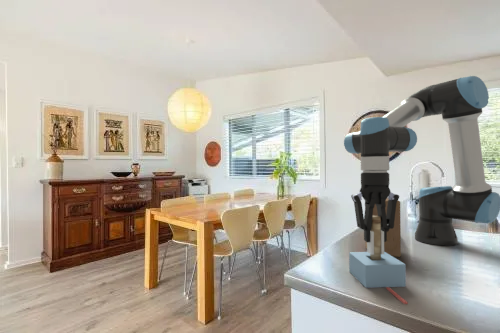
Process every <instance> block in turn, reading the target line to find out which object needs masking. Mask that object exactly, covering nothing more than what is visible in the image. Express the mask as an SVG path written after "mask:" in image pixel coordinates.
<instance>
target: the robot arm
mask: <svg viewBox="0 0 500 333" xmlns="http://www.w3.org/2000/svg"><path fill="white" fill-rule="evenodd" d="M489 96H490V95H489V91H488V87H487V86H486V84H485V82H484V81H483V80H482V79H481V78H480V77H478V76H476V75H469V76H465V77H459V78H455V79H451V80H448V81H444V82H443V81H442V82H440V83H436V84H432V85H428V86H426V87H424V88H422V89H420V90H417V91H416V92H414V93H413V94H411V95H410V96H408V97H406V98H405V99H403V100H402V101H401V102H400V104H399V105H398V106H397V107H395V108H394V109H392V110H391V111H389V112H387V113H386V114H384V115H383V116H371V117H367V118H366V117H365V118H364V119H362V120H361V121H360V130H359V131H354V132H350V133H348V134H346V136H345V137H344V139H343V146H344V148H345V151H346V152H348V153H349V154H357V155H360V170H361V171H362V172H361V173H360V189H359V192H357V193H356V194H351V195H350V196H351V197H350V198H351V200H352V201H353V205H354V212H355V219H356V225H357V228H360V229H361V230H363V240H364V242H365V241H366V242H367V249H366V252H368V253H370V254H371V255H374V232H373V231H371V226H372V216H373V208H374V205H375V204H376V206H377V213H378V216H380V217H381V254H384V242H386V241H387V232H388V231H389V229H393V228H394V221H395V212H396V203H397V201H399V199H400V195H399V194H396V193H393V192H392V191H391V189H390V173H389V172H388V171H390V153H391V152H392V153H394V152H398V153H401V152H402V153H405V152H410V151H412V150H413V149H414V148H415V146H416V145H417V142H418V136H417V133H416V131H415V130H413V129H412V128H410V127H406V126H407V125H409V124H410V123H412V122H416V121H418V120H420V119H423V118H425V117H430V116H436V115H437V116H438V115H441V116H442V118H441V119H442V120H443V121H444V122H446V123H447V124H448V125H447V126H448V133H449V138H450V144H451V145H450V148H451V153H452V154H451V155H452V160H453V168H454V175H455V184H454V186H451V185H444V186H431V187H427V186H426V187H422V188H420V189H419V194H418V207H419V208H418V212H419V213H418V215H419V216H418V217H419V221H418V224H417V227H416V230H415V232H414V240H416V241H418V242H419V243H420V242H421V243H425V244H427V245H436V246H456V245H458V242H459V238H458V235H457V233H456V230H455V228H454V225H453V220H459V221H466V222H472V223H475V224H485V225H486V224H491V223H493V222H495V220H496V219H497V217H498V216H499V214H500V194H499V193H498V192H495V191H493V189H492V185H491V184H490V183H488V182H486V176H485V167H484V161H483V153H482V144H481V136H480V129H479V128H480V127H479V117H480V116H481V115H482V114H483V109H484V108H486V106H488V104H489V99H490V97H489ZM362 198H363V200H364V210H363V204H362ZM387 198H388V199H389V200H388V205H387V214H386V211H385V207H386V203H385V200H386V199H387Z"/></svg>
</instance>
